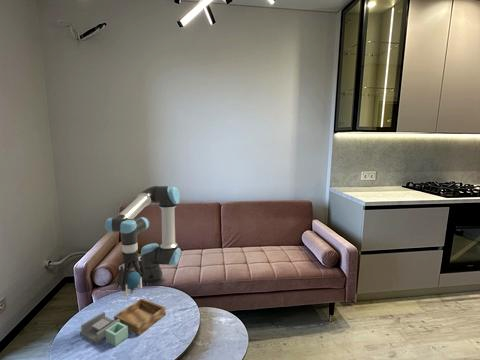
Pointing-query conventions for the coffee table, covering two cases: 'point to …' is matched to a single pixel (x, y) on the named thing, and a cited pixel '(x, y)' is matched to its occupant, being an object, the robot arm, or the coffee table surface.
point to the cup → (116, 334)
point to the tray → (141, 316)
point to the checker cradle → (92, 333)
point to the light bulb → (133, 280)
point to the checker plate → (100, 324)
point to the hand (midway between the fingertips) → (132, 291)
